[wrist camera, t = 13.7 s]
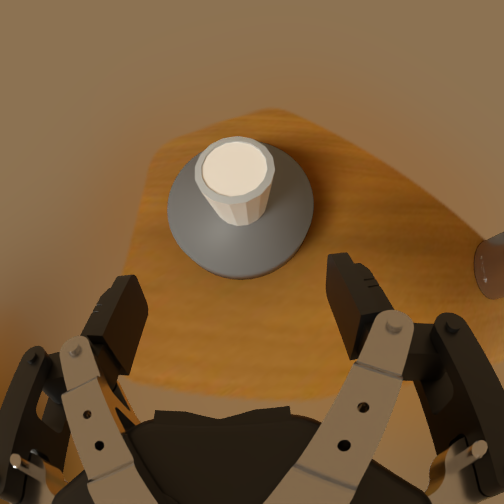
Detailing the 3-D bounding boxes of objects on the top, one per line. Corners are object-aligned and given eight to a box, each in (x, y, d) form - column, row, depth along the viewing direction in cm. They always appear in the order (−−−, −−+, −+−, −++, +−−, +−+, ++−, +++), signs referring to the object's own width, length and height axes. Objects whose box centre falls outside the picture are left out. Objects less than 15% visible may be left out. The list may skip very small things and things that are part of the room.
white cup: (218, 240, 28) (203, 214, 21) (202, 184, 30) (187, 148, 23) (282, 220, 28) (286, 189, 21) (261, 166, 30) (260, 127, 23)
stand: (303, 157, 35) (306, 140, 31) (311, 278, 31) (318, 272, 27) (184, 161, 35) (176, 144, 31) (173, 279, 31) (161, 273, 27)
